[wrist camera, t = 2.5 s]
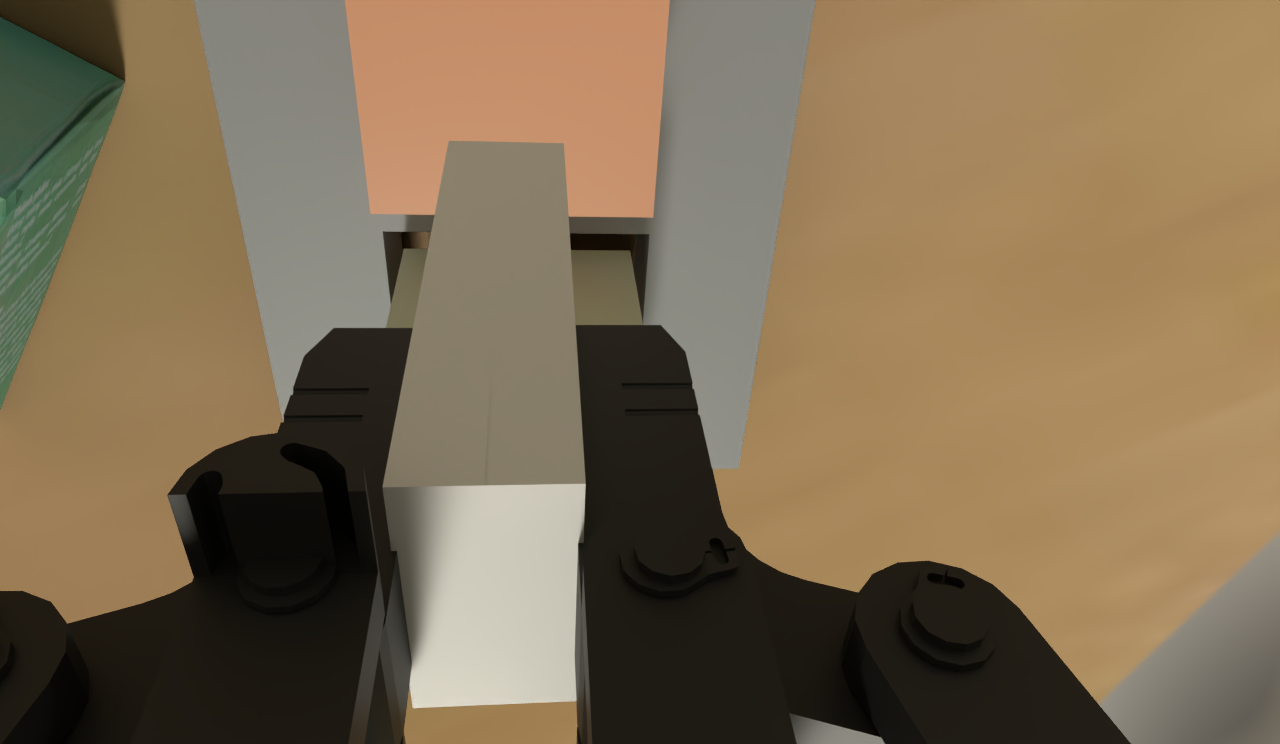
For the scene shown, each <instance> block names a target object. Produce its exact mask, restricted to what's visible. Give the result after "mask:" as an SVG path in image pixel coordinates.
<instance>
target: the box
mask: <svg viewBox="0 0 1280 744" xmlns="http://www.w3.org/2000/svg"><path fill="white" fill-rule="evenodd" d="M124 84H125V81H123V80H121V79H120V78H118V77H116V76H114V75H112V74H110V73H108V72H106V71H104V70H102V69H100V68H98V67H96V66H94V65H92V64H90V63H88V62H86V61H84V60H83V59H81V58H79V57H77V56H75V55H73V54H71V53H69V52H67V51H66V50H64V49H62V48H60V47H58V46H56V45H54V44H52V43H50V42H48V41H46V40H44V39H42V38H40V37H38V36H36V35H35V34H33V33H31V32H29V31H27V30H25V29H23V28H21V27H19V26H17V25H15V24H13V23H11V22H9V21H7V20H5V19H3V18H1V17H0V409H1V407H2V404H3V401H4V399H5V396H6V394H7V391H8V388H9V386H10V383H11V381H12V378H13V375H14V373H15V370H16V368H17V365H18V362H19V360H20V357H21V355H22V352H23V350H24V347H25V344H26V342H27V339H28V337H29V334H30V332H31V329H32V327H33V325H34V322H35V320H36V318H37V315H38V312H39V310H40V307H41V305H42V302H43V299H44V297H45V294H46V291H47V289H48V286H49V283H50V281H51V278H52V275H53V273H54V270H55V268H56V265H57V262H58V260H59V257H60V255H61V252H62V249H63V247H64V244H65V242H66V239H67V237H68V234H69V231H70V229H71V226H72V223H73V221H74V218H75V215H76V213H77V210H78V207H79V205H80V202H81V199H82V197H83V194H84V191H85V188H86V186H87V183H88V180H89V178H90V175H91V172H92V170H93V167H94V165H95V162H96V159H97V157H98V154H99V152H100V149H101V147H102V144H103V141H104V139H105V136H106V134H107V131H108V128H109V126H110V123H111V121H112V118H113V115H114V113H115V110H116V107H117V105H118V102H119V99H120V96H121V93H122V90H123V87H124Z"/></svg>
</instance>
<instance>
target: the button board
mask: <svg viewBox="0 0 1280 744" xmlns="http://www.w3.org/2000/svg"><path fill="white" fill-rule="evenodd" d="M815 1H816V0H670V4H669V17H668V30H667V43H666V56H665V69H664V82H663V96H662V109H661V122H660V135H659V148H658V161H657V174H656V187H655V200H654V214H653V218H650V217H569V231H570V233H578V234H636V242H635V258H634V276H635V282H636V287H637V293H638V299H639V304H640V310H641V316H642V321H643V325H661V326H662V327H663V328H664V329H665V330H666V331H667V332H668V333H669V334H670V335H671V337H672V338H673V339H674V340H675V341H676V342H677V343H678V344H679V345H680V346H681V347H682V348H683V350H684V351H685V352H686V356H687V360H688V365H689V369H690V374H691V378H692V382H693V384H692V387H693V389H694V391H695V396H696V400H697V404H698V415H700V418H701V422H702V426H703V431H704V435H705V440H706V444H707V448H708V453H709V457H710V462H711V466H712V469H739V463H740V457H741V451H742V445H743V439H744V433H745V427H746V421H747V415H748V408H749V402H750V396H751V390H752V384H753V378H754V372H755V366H756V360H757V354H758V348H759V342H760V335H761V329H762V323H763V317H764V311H765V305H766V299H767V293H768V287H769V281H770V275H771V269H772V262H773V256H774V250H775V244H776V238H777V232H778V226H779V220H780V214H781V208H782V202H783V196H784V189H785V183H786V177H787V171H788V165H789V159H790V153H791V147H792V141H793V135H794V129H795V122H796V116H797V110H798V104H799V98H800V92H801V86H802V80H803V74H804V68H805V62H806V56H807V49H808V43H809V37H810V31H811V25H812V19H813V13H814V7H815ZM194 3H195V8H196V13H197V17H198V22H199V27H200V32H201V36H202V41H203V46H204V51H205V55H206V60H207V65H208V69H209V74H210V79H211V84H212V88H213V93H214V98H215V103H216V107H217V112H218V117H219V122H220V126H221V131H222V136H223V141H224V145H225V150H226V155H227V159H228V164H229V169H230V174H231V178H232V183H233V188H234V193H235V197H236V202H237V207H238V212H239V216H240V221H241V226H242V230H243V235H244V240H245V245H246V249H247V254H248V259H249V264H250V268H251V273H252V278H253V283H254V287H255V292H256V297H257V302H258V306H259V311H260V316H261V320H262V325H263V330H264V335H265V339H266V344H267V349H268V354H269V358H270V363H271V368H272V373H273V377H274V382H275V387H276V391H277V396H278V401H279V406H280V410H281V415H282V420H283V422H284V416H283V415H284V413H285V410H286V407H287V404H288V401H289V398H290V395H293V387H294V384H295V381H296V378H297V375H298V372H299V369H300V366H301V363H302V361H303V358H304V356H305V355H306V354H307V353H308V352H309V351H310V350H311V349H312V348H313V347H314V346H315V345H316V344H317V343H318V342H319V341H320V340H322V339H323V338H324V337H325V336H326V335H327V334H328V333H329V332H330V331H331V330H332V329H333V328H386V325H387V320H388V316H389V312H390V307H391V303H392V298H393V294H394V290H395V285H396V281H397V276H398V272H399V268H400V263H401V259H402V255H403V248H402V238H401V232H431V231H432V225H433V220H434V215H408V214H370V206H369V198H368V190H367V181H366V173H365V165H364V156H363V148H362V140H361V131H360V123H359V115H358V107H357V98H356V90H355V82H354V73H353V65H352V57H351V48H350V40H349V32H348V23H347V15H346V7H345V0H194Z"/></svg>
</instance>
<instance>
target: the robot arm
mask: <svg viewBox="0 0 1280 744" xmlns="http://www.w3.org/2000/svg"><path fill="white" fill-rule="evenodd" d="M692 384H693V382H692V378H691V374H690V369H689V365H688V360H687V356H686V352H685V351H684V350H683V348H682V347H681V346H680V345H679V344H678V343H677V342H676V341H675V340H674V339H673V338H672V337H671V335H670V334H669V333H668V332H667V331H666V330H665V329H664V328H663V327H662V326H661V325H575V309H574V293H573V278H572V262H571V246H570V231H569V215H568V200H567V184H566V168H565V153H564V143H533V142H488V141H449V142H448V147H447V152H446V157H445V163H444V168H443V173H442V178H441V184H440V189H439V194H438V199H437V205H436V210H435V215H434V220H433V225H432V231H431V236H430V241H429V246H428V252H427V257H426V262H425V267H424V273H423V278H422V283H421V288H420V293H419V299H418V304H417V309H416V314H415V320H414V325H413V328H333V329H332V330H331V331H330V332H329V333H328V334H327V335H326V336H325V337H324V338H323V339H322V340H320V341H319V342H318V343H317V344H316V345H315V346H314V347H313V348H312V349H311V350H310V351H309V352H308V353H307V354H306V355H305V356H304V358H303V361H302V363H301V366H300V369H299V372H298V375H297V378H296V381H295V384H294V387H293V395H290V398H289V401H288V404H287V407H286V410H285V413H284V415H283V416H284V422H283V423H281V424H280V427H279V430H278V433H275V434H267V435H260V436H252V437H249V438H246V439H243V440H241V441H238V442H235V443H232V444H230V445H227V446H224V447H222V448H219V449H216V450H214V451H213V452H212V453H210V454H209V455H207V456H206V457H204V458H203V459H201V460H200V461H198V462H197V463H196V464H194V465H193V466H191V467H190V468H188V469H187V470H186V471H185V472H184V473H183V475H182V476H181V477H180V479H179V480H178V481H177V483H176V484H175V485H174V487H173V488H172V489H171V491H170V492H169V493H168V495H167V496H168V499H169V502H170V505H171V508H172V511H173V514H174V517H175V520H176V523H177V526H178V529H179V533H180V536H181V539H182V542H183V545H184V548H185V551H186V554H187V557H188V560H189V563H190V566H191V570H192V573H193V576H194V578H193V581H192V582H191V583H190V584H188V585H186V586H184V587H182V588H180V589H178V590H176V591H175V592H173V593H170V594H168V595H165V596H162V597H159V598H156V599H154V600H151V601H148V602H145V603H142V604H139V605H135V606H131V607H127V608H124V609H120V610H116V611H113V612H109V613H105V614H102V615H98V616H94V617H91V618H87V619H83V620H79V621H76V622H72V623H68V624H67V623H66V621H65V620H64V619H63V617H62V616H61V615H60V613H59V612H58V611H57V609H56V608H55V607H54V605H53V604H52V603H51V602H50V601H47V600H45V599H42V598H39V597H37V596H34V595H31V594H29V593H26V592H24V591H0V744H406V743H405V736H404V723H405V715H406V707H407V700H408V692H409V684H410V691H411V698H412V705H413V708H425V707H448V706H471V705H495V704H518V703H541V702H565V701H576V702H577V744H1131V743H1130V742H1129V741H1128V740H1127V738H1126V737H1125V736H1124V735H1123V734H1122V732H1121V731H1120V730H1119V729H1118V728H1117V726H1116V725H1115V724H1114V723H1113V721H1112V720H1111V719H1110V718H1109V717H1108V715H1107V714H1106V713H1105V712H1104V711H1103V709H1102V708H1101V707H1100V706H1099V705H1098V703H1097V702H1096V701H1095V700H1094V698H1093V697H1092V696H1091V695H1090V694H1089V692H1088V691H1087V690H1086V689H1085V688H1084V686H1083V685H1082V684H1081V683H1080V681H1079V680H1078V679H1077V678H1076V677H1075V675H1074V674H1073V673H1072V672H1071V671H1070V669H1069V668H1068V667H1067V666H1066V664H1065V663H1064V662H1063V661H1062V660H1061V658H1060V657H1059V656H1058V655H1057V654H1056V652H1055V651H1054V650H1053V649H1052V648H1051V646H1050V645H1049V644H1048V643H1047V641H1046V640H1045V639H1044V638H1043V637H1042V635H1041V634H1040V633H1039V632H1038V631H1037V629H1036V628H1035V627H1034V626H1033V624H1032V623H1031V622H1030V621H1029V620H1028V618H1027V617H1026V616H1025V615H1024V614H1023V612H1022V611H1021V610H1020V609H1019V608H1018V607H1017V606H1016V605H1015V604H1014V603H1013V602H1012V601H1011V600H1009V599H1008V598H1007V597H1006V596H1005V595H1004V594H1003V593H1002V592H1001V591H1000V590H998V589H997V588H996V587H995V586H994V585H993V584H991V583H989V582H987V581H985V580H983V579H981V578H979V577H977V576H975V575H973V574H971V573H969V572H968V571H966V570H964V569H962V568H957V567H953V566H949V565H944V564H940V563H936V562H931V561H917V562H900V563H896V564H894V565H891V566H889V567H887V568H885V569H883V570H880V571H878V572H876V573H874V574H872V576H871V577H870V578H869V580H868V581H867V582H866V584H865V585H864V586H863V588H862V589H861V590H860V592H859V593H857V592H853V591H849V590H845V589H840V588H836V587H832V586H828V585H824V584H819V583H815V582H811V581H807V580H803V579H800V578H797V577H794V576H791V575H788V574H785V573H782V572H780V571H778V570H776V569H774V568H772V567H771V566H769V565H767V564H765V563H763V562H761V561H760V560H758V559H757V558H756V557H755V556H753V555H752V554H751V553H750V552H749V551H747V550H746V548H745V546H744V544H743V542H742V540H741V538H740V537H739V536H738V535H737V534H735V533H734V532H733V531H732V530H731V529H730V528H728V526H727V523H726V521H725V518H724V516H723V513H722V510H721V505H720V501H719V497H718V492H717V488H716V483H715V479H714V475H713V470H712V466H711V462H710V457H709V453H708V448H707V444H706V440H705V435H704V431H703V426H702V422H701V418H700V415H698V404H697V400H696V396H695V391H694V389H693V387H692Z"/></svg>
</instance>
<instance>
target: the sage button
mask: <svg viewBox="0 0 1280 744" xmlns="http://www.w3.org/2000/svg"><path fill="white" fill-rule="evenodd" d="M427 252H428V249H404V250H403V255H402V259H401V263H400V268H399V272H398V276H397V281H396V285H395V290H394V294H393V298H392V303H391V307H390V312H389V316H388V320H387V325H386V328H413V325H414V320H415V314H416V309H417V304H418V299H419V293H420V288H421V283H422V278H423V273H424V267H425V262H426V257H427ZM571 262H572V278H573V293H574V309H575V325H643V321H642V316H641V310H640V304H639V299H638V293H637V287H636V282H635V276H634V270H633V265H632V259H631V253H630V251H623V250H571Z"/></svg>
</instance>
